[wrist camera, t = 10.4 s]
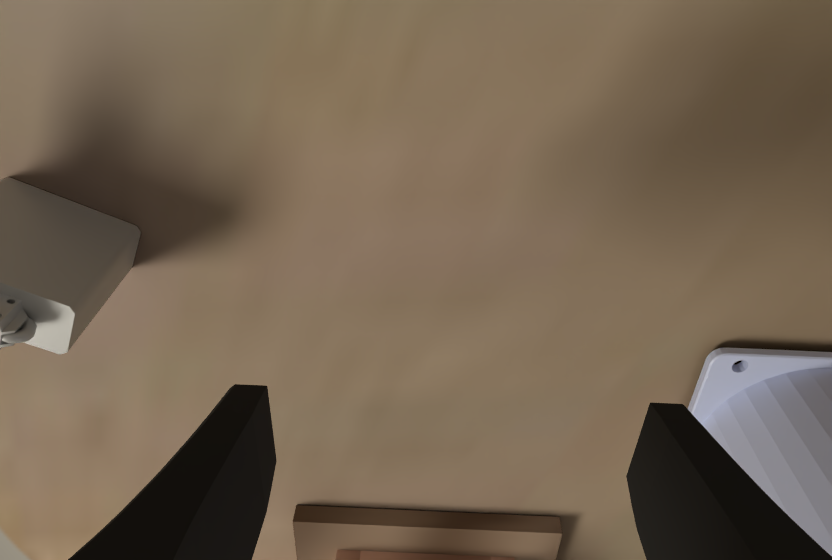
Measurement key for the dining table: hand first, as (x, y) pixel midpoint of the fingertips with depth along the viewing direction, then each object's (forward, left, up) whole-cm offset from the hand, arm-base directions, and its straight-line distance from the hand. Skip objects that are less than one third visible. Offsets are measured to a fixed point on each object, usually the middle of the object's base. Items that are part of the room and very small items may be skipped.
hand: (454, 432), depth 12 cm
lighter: (+13, 0, -9) cm, 16 cm away
